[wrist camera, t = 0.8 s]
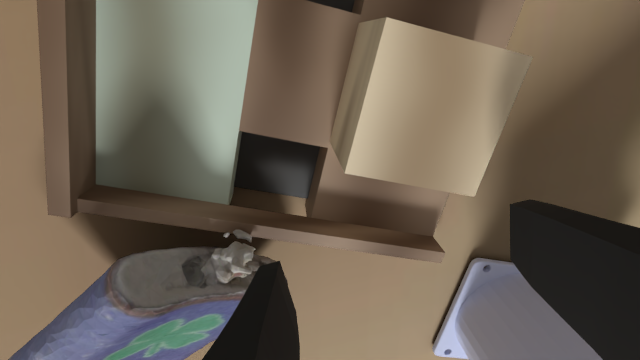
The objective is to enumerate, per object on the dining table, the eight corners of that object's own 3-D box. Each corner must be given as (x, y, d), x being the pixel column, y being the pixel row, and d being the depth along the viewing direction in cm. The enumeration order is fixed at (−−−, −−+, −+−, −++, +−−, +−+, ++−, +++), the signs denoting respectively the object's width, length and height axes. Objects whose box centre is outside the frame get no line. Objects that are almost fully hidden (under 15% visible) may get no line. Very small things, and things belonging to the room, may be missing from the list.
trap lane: (509, -45, 16) (590, -75, 12) (412, 223, 21) (445, 269, 16) (106, -176, 13) (22, -278, 9) (102, 173, 18) (48, 214, 14)
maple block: (470, 52, 15) (532, 56, 11) (431, 161, 17) (474, 197, 13) (358, 23, 14) (386, 16, 10) (329, 141, 16) (344, 173, 12)
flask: (-6, 417, 14) (151, 287, 10) (-4, 342, 15) (135, 203, 11) (191, 364, 21) (322, 278, 18) (181, 317, 23) (300, 229, 19)
